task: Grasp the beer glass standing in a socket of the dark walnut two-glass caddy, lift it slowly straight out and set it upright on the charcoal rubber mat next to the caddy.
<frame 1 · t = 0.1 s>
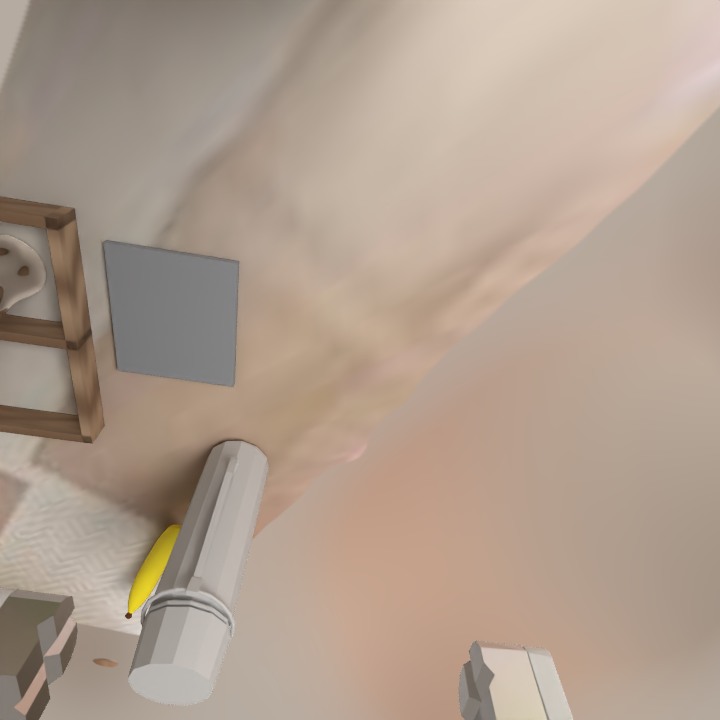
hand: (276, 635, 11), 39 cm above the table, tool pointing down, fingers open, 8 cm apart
banana: (168, 538, 69), on the table
beer glass: (14, 264, 48), resting in glass caddy
charcoal mat: (175, 317, 51), on the table
water bottle: (241, 452, 60), on the table
glass caddy: (24, 321, 51), on the table
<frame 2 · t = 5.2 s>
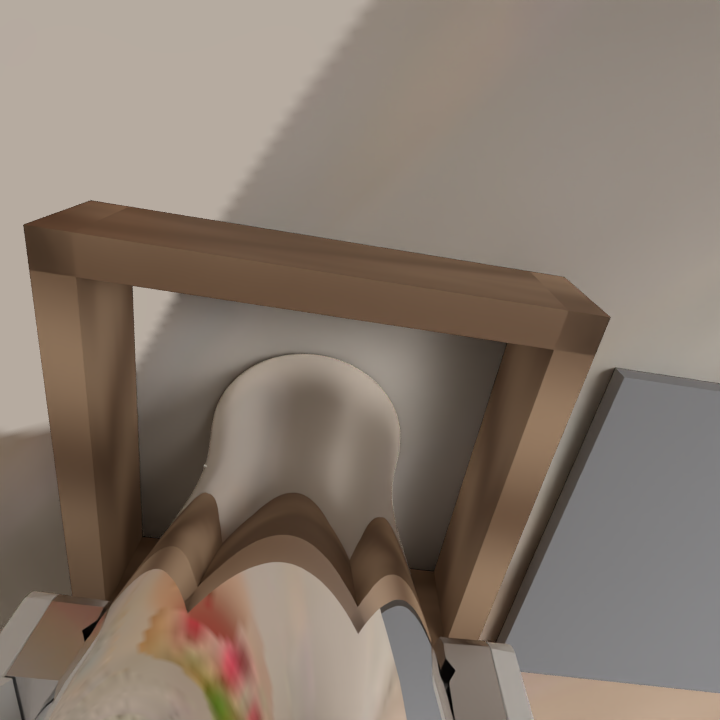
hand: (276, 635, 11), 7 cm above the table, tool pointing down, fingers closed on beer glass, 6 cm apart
beer glass: (308, 431, 17), resting in glass caddy, touching gripper
charcoal mat: (697, 554, 19), on the table
glass caddy: (289, 563, 20), on the table
when the fingers open (10 cm above the table, at t = 14.1 s): beer glass moves 1 cm, resting on charcoal mat.
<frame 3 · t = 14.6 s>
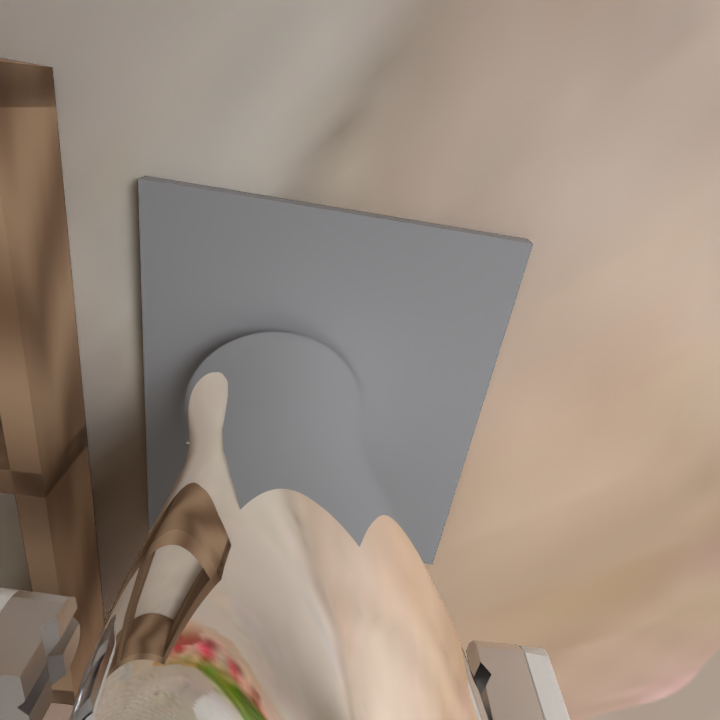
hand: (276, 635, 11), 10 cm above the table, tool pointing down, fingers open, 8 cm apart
beer glass: (274, 405, 18), point 1 cm above the table, touching charcoal mat, gripper
charcoal mat: (314, 399, 19), on the table
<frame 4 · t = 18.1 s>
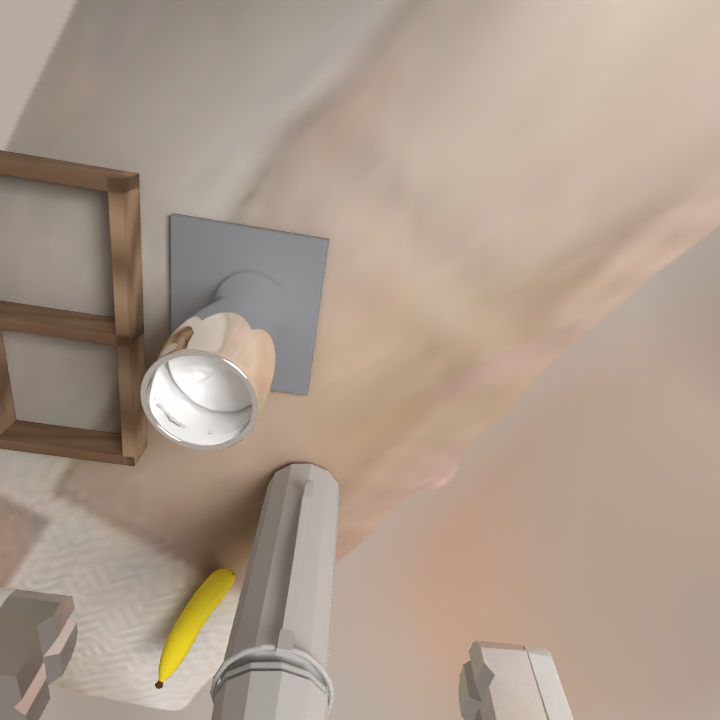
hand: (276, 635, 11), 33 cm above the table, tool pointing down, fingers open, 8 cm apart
banana: (208, 587, 58), on the table
beer glass: (252, 306, 42), resting on charcoal mat
charcoal mat: (246, 310, 43), on the table
water bottle: (306, 478, 51), on the table
glass caddy: (64, 315, 43), on the table
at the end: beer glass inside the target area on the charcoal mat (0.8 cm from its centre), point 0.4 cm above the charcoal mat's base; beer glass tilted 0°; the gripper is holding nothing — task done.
